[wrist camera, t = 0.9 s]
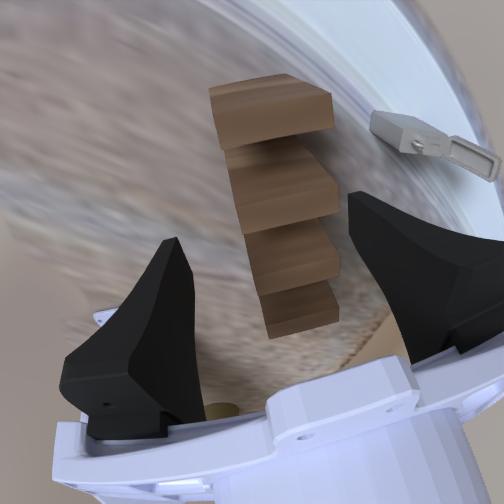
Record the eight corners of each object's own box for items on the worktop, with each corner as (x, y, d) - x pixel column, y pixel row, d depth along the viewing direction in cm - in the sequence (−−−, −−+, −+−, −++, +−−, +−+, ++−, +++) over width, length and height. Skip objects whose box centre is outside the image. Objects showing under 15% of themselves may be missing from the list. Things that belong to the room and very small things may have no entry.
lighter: (368, 131, 21) (431, 177, 15) (372, 109, 20) (439, 149, 14) (437, 140, 22) (501, 184, 16) (441, 122, 21) (508, 162, 15)
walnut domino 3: (303, 208, 25) (339, 276, 18) (241, 222, 25) (258, 296, 18) (301, 190, 24) (340, 255, 17) (237, 205, 24) (253, 277, 17)
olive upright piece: (204, 401, 42) (211, 470, 34) (243, 403, 44) (254, 468, 36) (197, 416, 46) (202, 478, 37) (232, 417, 48) (241, 477, 39)
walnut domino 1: (288, 95, 19) (334, 127, 13) (214, 110, 19) (221, 150, 13) (285, 73, 18) (331, 93, 12) (208, 88, 18) (213, 114, 12)
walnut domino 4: (307, 251, 27) (338, 321, 21) (252, 264, 27) (269, 339, 21) (306, 237, 26) (339, 307, 20) (248, 250, 26) (265, 326, 20)
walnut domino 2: (297, 155, 22) (339, 212, 15) (228, 170, 22) (242, 234, 15) (294, 135, 21) (338, 184, 14) (223, 150, 21) (235, 207, 14)
